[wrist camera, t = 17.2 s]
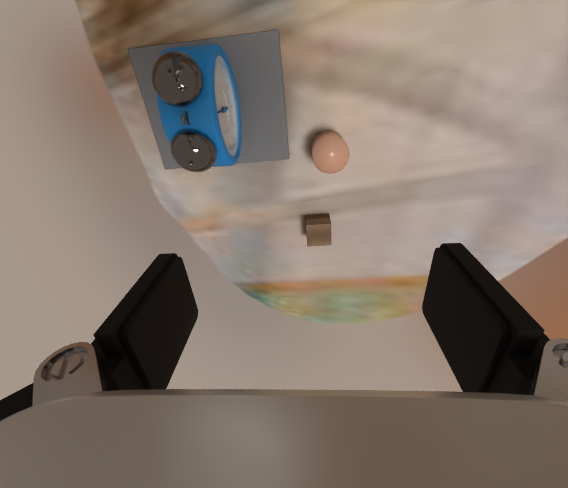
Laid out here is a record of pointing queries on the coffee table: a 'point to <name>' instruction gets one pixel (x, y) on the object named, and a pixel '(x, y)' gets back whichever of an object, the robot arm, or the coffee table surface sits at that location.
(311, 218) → the walnut block
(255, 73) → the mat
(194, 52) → the alarm clock
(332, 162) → the tan egg shape
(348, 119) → the coffee table surface
